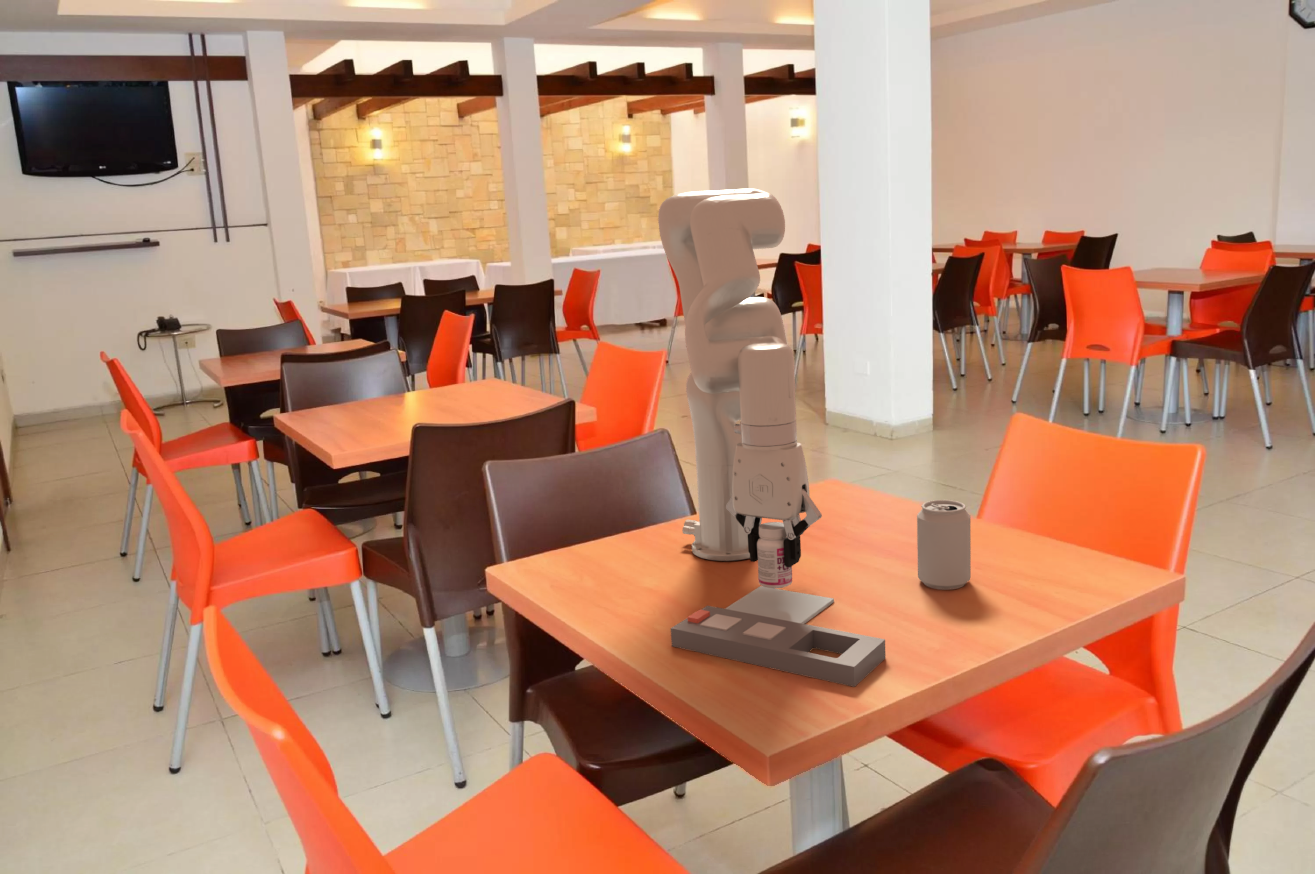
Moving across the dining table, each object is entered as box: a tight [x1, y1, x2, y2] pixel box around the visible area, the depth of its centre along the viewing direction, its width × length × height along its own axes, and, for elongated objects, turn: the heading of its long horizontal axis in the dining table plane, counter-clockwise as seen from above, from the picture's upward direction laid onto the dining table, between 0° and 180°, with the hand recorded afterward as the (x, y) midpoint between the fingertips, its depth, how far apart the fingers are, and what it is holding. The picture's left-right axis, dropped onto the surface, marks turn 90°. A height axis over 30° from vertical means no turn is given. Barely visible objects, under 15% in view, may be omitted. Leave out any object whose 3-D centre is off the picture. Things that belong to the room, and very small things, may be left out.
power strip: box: [670, 605, 886, 688], centre depth 132 cm, size 26×9×3 cm, turn 55°
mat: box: [724, 585, 835, 624], centre depth 147 cm, size 12×12×1 cm
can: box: [916, 499, 972, 591], centre depth 151 cm, size 8×8×12 cm
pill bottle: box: [757, 521, 793, 589], centre depth 145 cm, size 5×5×8 cm
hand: (774, 560), depth 145 cm, fingers closed on pill bottle, 4 cm apart
